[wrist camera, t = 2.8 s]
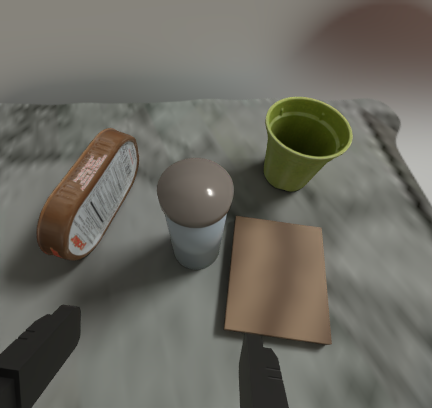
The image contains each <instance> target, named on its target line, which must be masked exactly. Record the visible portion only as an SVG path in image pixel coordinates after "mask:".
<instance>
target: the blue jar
mask: <svg viewBox="0 0 432 408" xmlns="http://www.w3.org/2000/svg"><path fill="white" fill-rule="evenodd" d="M233 194H234V185H233V181H232V179H231V177H230V175H229V174H228V172H227V171H226V170H225V169H224V168H223V167H222V166H220V165H219V164H217V163H215V162H213V161H210V160H207V159H202V158H189V159H184V160H181V161H178V162H176V163H174V164H172V165H171V166H169V167H168V168H167V169H166V170H165V171H164V172H163V174H162V175H161V177H160V179H159V181H158V185H157V195H158V199H159V203H160V206H161V209H162V211H163V212H164V214H165V217H166V221H167V225H168V229H169V234H170V238H171V242H172V246H173V251H174V255H175V257H176V259H177V260H178V262H179V263H180V264H181V265H183V266H184V267H186V268H189V269H194V270H198V269H203V268H206V267H208V266H210V265H211V264H212V263H213V262H214V261H215V260H216V258H217V256H218V254H219V250H220V245H221V240H222V235H223V230H224V225H225V220H226V215H227V212H228V211H229V209H230V207H231V204H232V199H233Z"/></svg>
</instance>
